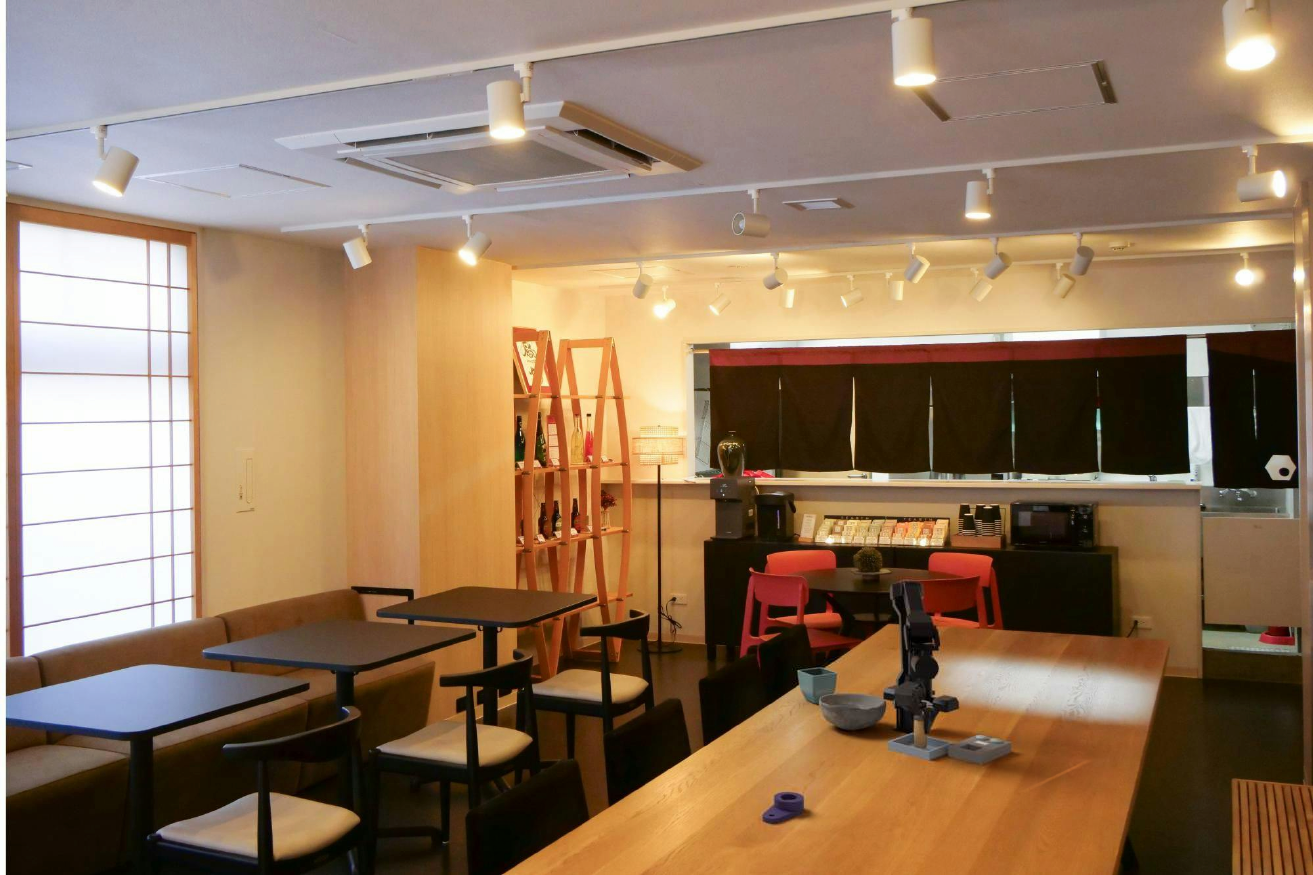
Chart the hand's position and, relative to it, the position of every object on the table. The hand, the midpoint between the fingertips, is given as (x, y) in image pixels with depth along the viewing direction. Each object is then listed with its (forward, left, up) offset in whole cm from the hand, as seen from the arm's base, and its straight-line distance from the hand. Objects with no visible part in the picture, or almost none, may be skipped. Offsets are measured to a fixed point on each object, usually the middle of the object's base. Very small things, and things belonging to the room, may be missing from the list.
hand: (920, 732), depth 265 cm
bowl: (-25, +5, -5) cm, 26 cm away
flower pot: (-49, +20, -5) cm, 53 cm away
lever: (+4, -58, -5) cm, 58 cm away
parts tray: (0, 0, -5) cm, 5 cm away
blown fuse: (0, 0, -4) cm, 4 cm away
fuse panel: (+12, +7, -5) cm, 15 cm away
